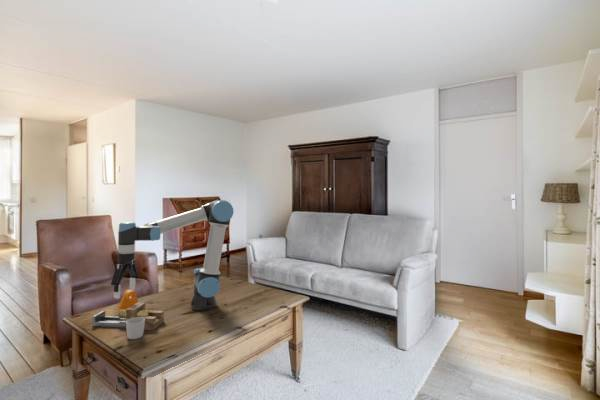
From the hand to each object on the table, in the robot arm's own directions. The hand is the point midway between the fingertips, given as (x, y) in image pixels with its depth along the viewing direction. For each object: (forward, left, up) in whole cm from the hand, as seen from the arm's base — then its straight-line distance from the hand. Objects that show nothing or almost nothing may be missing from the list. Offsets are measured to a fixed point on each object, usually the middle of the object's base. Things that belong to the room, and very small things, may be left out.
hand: (124, 294), depth 165 cm
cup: (-13, +13, -16) cm, 24 cm away
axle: (-5, 0, -12) cm, 13 cm away
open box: (-11, 0, -15) cm, 19 cm away
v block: (+5, 0, -15) cm, 16 cm away
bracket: (+6, -17, -16) cm, 24 cm away
